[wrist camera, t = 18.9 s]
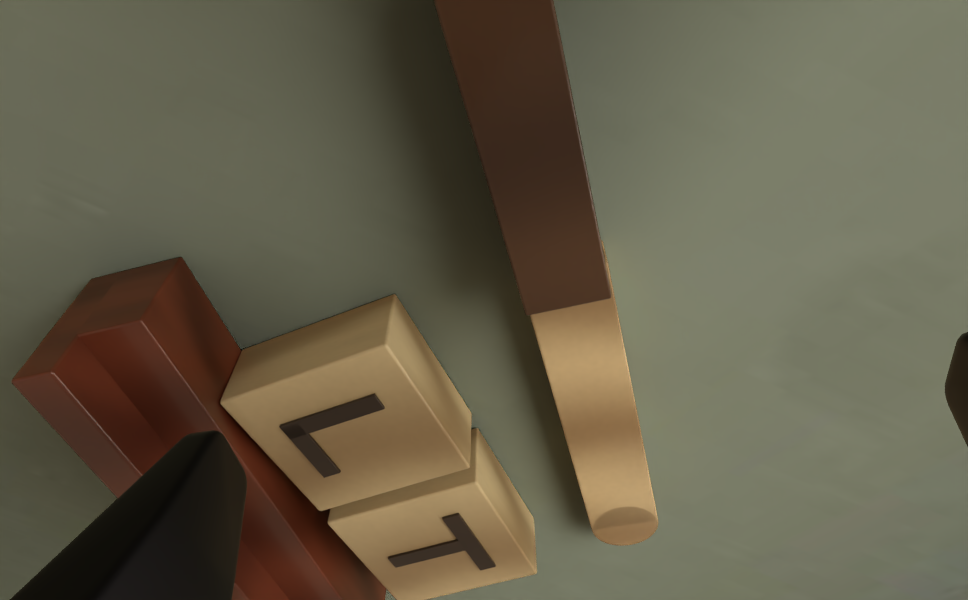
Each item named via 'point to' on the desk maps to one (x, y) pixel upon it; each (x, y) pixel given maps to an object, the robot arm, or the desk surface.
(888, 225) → the desk surface
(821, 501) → the desk surface
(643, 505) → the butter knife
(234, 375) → the letter tile L
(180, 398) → the tile rack
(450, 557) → the letter tile T
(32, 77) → the desk surface
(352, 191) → the desk surface
